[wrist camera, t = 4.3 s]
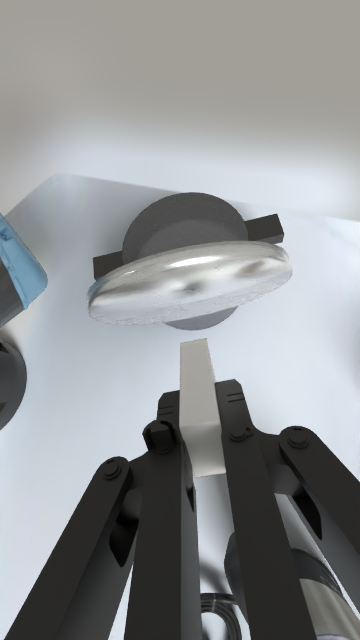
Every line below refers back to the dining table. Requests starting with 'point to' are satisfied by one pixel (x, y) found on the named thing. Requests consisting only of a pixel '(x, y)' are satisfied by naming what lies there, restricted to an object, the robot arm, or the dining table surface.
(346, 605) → the milk frother
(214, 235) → the cooker pot
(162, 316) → the cooker lid
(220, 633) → the dining table surface
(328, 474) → the robot arm
